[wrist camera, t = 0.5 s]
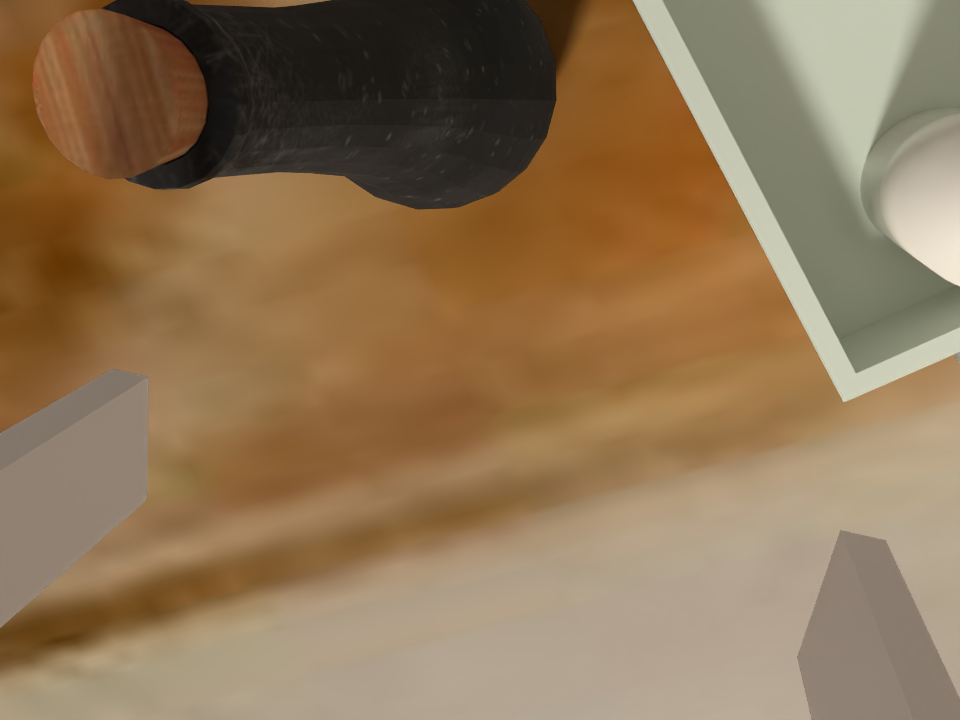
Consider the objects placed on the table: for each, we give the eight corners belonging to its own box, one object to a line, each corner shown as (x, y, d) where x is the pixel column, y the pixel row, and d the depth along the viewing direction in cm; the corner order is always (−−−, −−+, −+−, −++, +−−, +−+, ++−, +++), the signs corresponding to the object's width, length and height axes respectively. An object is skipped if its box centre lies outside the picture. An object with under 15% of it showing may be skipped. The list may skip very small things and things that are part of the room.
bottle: (546, -53, 41) (286, -335, 13) (587, 170, 44) (441, 325, 16) (341, 3, 44) (-231, -132, 16) (392, 211, 47) (-24, 403, 19)
